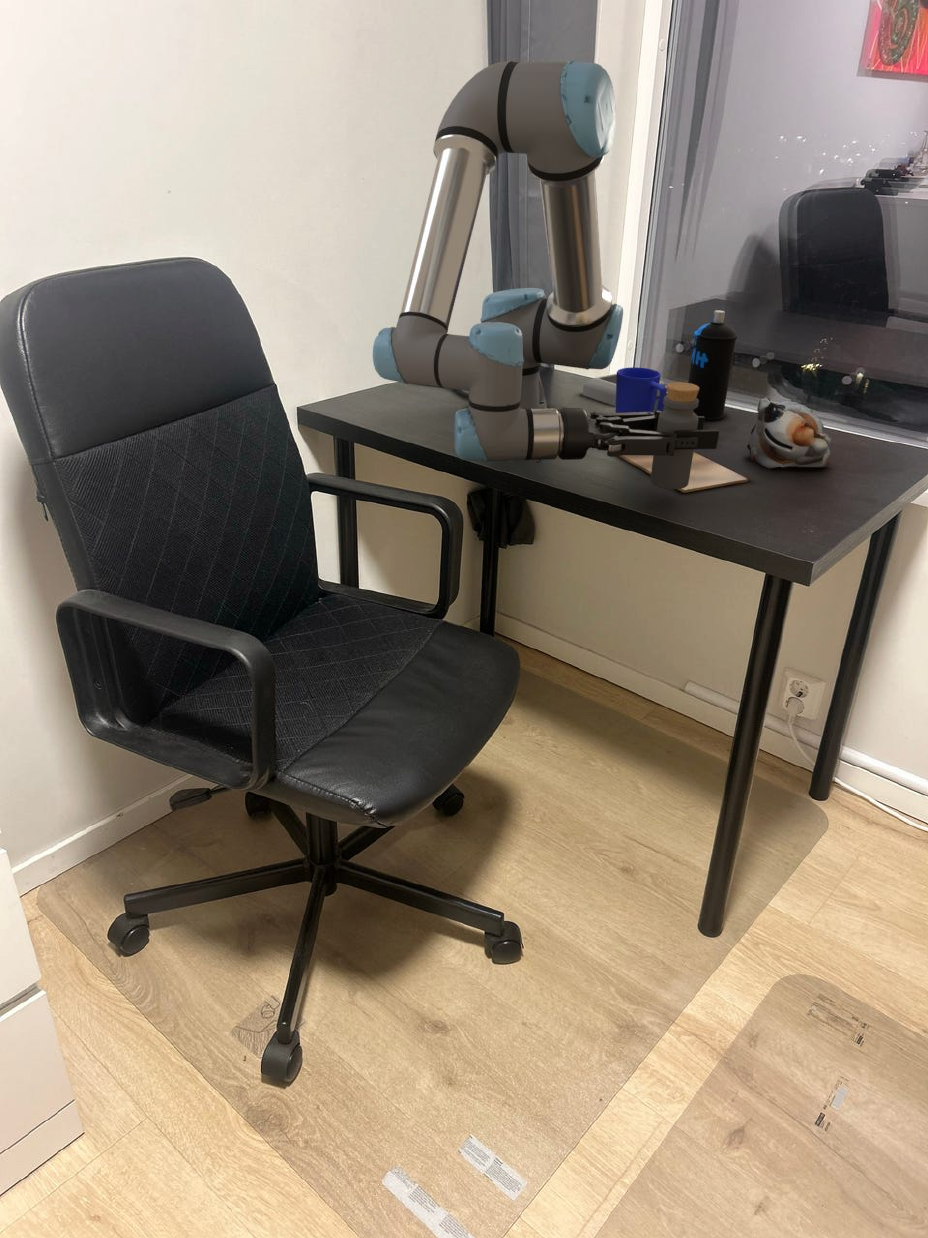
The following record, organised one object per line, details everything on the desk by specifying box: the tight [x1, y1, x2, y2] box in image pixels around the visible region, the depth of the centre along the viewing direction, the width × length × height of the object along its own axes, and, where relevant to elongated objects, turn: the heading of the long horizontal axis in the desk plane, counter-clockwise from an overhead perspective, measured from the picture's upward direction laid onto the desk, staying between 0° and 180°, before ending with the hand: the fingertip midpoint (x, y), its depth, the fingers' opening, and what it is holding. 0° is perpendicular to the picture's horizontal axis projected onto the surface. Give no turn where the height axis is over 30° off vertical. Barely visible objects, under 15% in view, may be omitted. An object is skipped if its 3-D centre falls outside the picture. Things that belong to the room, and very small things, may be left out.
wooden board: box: [618, 451, 749, 494], centre depth 150 cm, size 20×13×1 cm, turn 25°
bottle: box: [650, 381, 699, 490], centre depth 132 cm, size 6×6×15 cm
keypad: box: [582, 373, 667, 407], centre depth 187 cm, size 10×4×15 cm
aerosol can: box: [687, 309, 739, 422], centre depth 172 cm, size 8×8×20 cm
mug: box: [615, 366, 667, 414], centre depth 166 cm, size 8×12×10 cm
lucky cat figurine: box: [746, 397, 832, 470], centre depth 149 cm, size 15×12×14 cm
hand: (709, 432), depth 132 cm, fingers closed on bottle, 6 cm apart
